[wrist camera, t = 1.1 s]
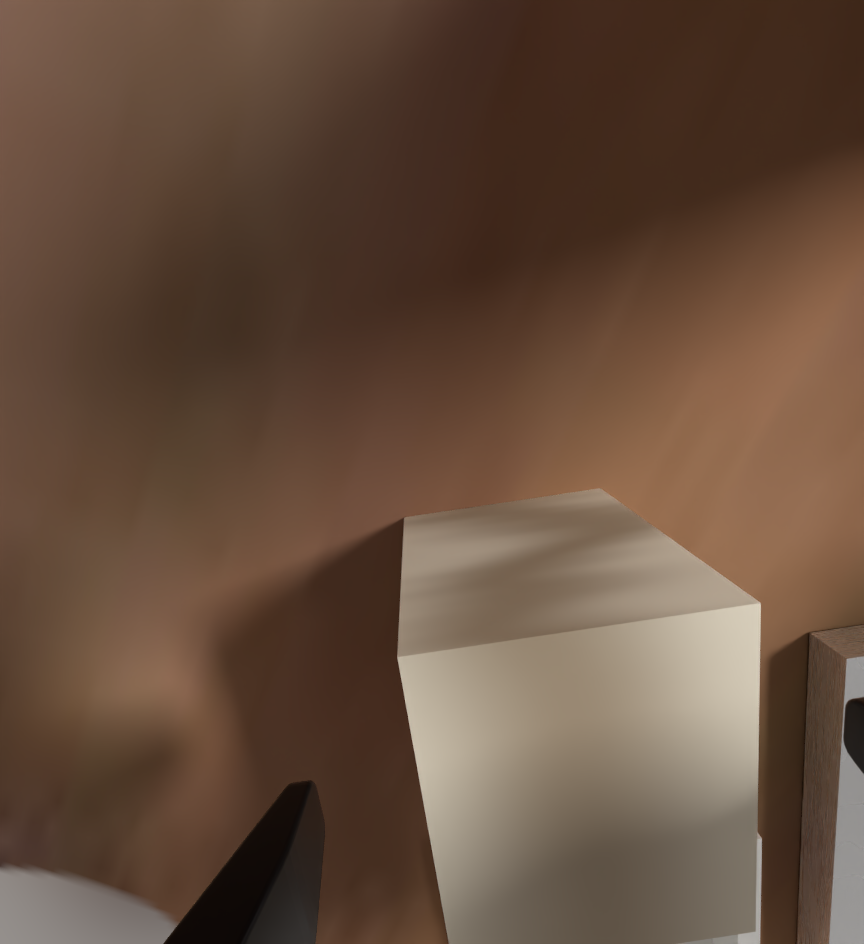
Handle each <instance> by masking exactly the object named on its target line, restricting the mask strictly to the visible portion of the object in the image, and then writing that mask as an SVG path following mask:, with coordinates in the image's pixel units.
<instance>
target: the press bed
mask: <svg viewBox="0 0 864 944" xmlns="http://www.w3.org/2000/svg"><path fill="white" fill-rule="evenodd" d="M860 697H864V625H859V626H852V627H846V628H839V629H832V630H826V631H819V632H812V633H810V638H809V662H808V686H807V710H806V734H805V758H804V782H803V806H802V830H801V854H800V878H799V902H798V926H797V944H864V774H863V773H862V772H861V770H860V769H859V768H858V766H857V765H856V764H855V762H854V761H853V760H852V759H851V757H850V756H849V754H848V752H847V750H846V748H845V745H844V741H843V733H844V717H845V705H846V703H847V702H848V700H850V699H853V698H860Z"/></svg>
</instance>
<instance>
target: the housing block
mask: <svg viewBox="0 0 864 944" xmlns="http://www.w3.org/2000/svg"><path fill="white" fill-rule="evenodd" d="M760 621H761V603H760V602H759V601H757V600H756V599H755V598H753V597H752V596H750V595H749V594H748V593H746V592H745V591H743V590H742V589H741V588H739V587H738V586H736V585H735V584H734V583H732V582H731V581H729V580H728V579H727V578H725V577H724V576H722V575H721V574H720V573H718V572H717V571H715V570H714V569H713V568H711V567H710V566H708V565H707V564H706V563H704V562H703V561H701V560H700V559H699V558H697V557H696V556H694V555H693V554H692V553H690V552H689V551H687V550H686V549H685V548H683V547H682V546H680V545H679V544H678V543H676V542H675V541H673V540H672V539H671V538H669V537H668V536H666V535H665V534H664V533H662V532H661V531H659V530H658V529H657V528H655V527H654V526H652V525H651V524H650V523H648V522H647V521H645V520H644V519H643V518H641V517H640V516H638V515H637V514H636V513H634V512H633V511H631V510H630V509H629V508H627V507H626V506H625V505H623V504H622V503H620V502H619V501H618V500H616V499H615V498H613V497H612V496H611V495H609V494H608V493H606V492H605V491H604V490H602V489H601V488H599V489H593V490H586V491H579V492H572V493H566V494H559V495H552V496H545V497H539V498H532V499H525V500H518V501H512V502H505V503H498V504H491V505H485V506H478V507H471V508H465V509H458V510H451V511H444V512H438V513H431V514H424V515H417V516H411V517H404V531H403V551H402V572H401V592H400V613H399V633H398V654H397V658H398V664H399V669H400V675H401V681H402V686H403V692H404V697H405V703H406V708H407V714H408V719H409V725H410V731H411V736H412V742H413V747H414V753H415V758H416V764H417V770H418V775H419V781H420V786H421V792H422V797H423V803H424V808H425V814H426V820H427V825H428V831H429V836H430V842H431V847H432V853H433V858H434V864H435V870H436V875H437V881H438V886H439V892H440V897H441V903H442V908H443V914H444V920H445V925H446V931H447V936H448V942H449V944H678V943H685V942H691V941H698V940H704V939H711V938H718V937H724V936H731V935H737V934H744V933H750V932H756V887H757V821H758V754H759V688H760Z"/></svg>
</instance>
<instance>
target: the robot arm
mask: <svg viewBox="0 0 864 944" xmlns="http://www.w3.org/2000/svg"><path fill="white" fill-rule="evenodd" d="M843 741H844V745H845V748H846V750H847V752H848V754H849V756H850V757H851V759H852V760H853V761H854V762H855V764H856V765H857V766H858V768H859V769H860V770H861V772H862V773H863V774H864V697H860V698H853V699H850V700H848V702H847V703H846V705H845V717H844V733H843ZM324 838H325V823H324V817H323V813H322V808H321V804H320V800H319V796H318V792H317V788H316V785H315V783H314V782H313V781H311V780H308V781H302V782H295V783H291V784H289V785H288V786H287V787H286V788H285V789H284V790H283V792H282V793H281V794H280V795H279V797H278V798H277V799H276V801H275V802H274V803H273V804H272V806H271V807H270V808H269V809H268V811H267V812H266V813H265V815H264V816H263V817H262V818H261V820H260V821H259V822H258V823H257V825H256V826H255V827H254V829H253V830H252V831H251V832H250V834H249V835H248V836H247V838H246V839H245V840H244V841H243V843H242V844H241V845H240V846H239V848H238V849H237V850H236V852H235V853H234V854H233V855H232V857H231V858H230V859H229V861H228V862H227V863H226V864H225V866H224V867H223V868H222V869H221V871H220V872H219V873H218V875H217V876H216V877H215V878H214V880H213V881H212V882H211V884H210V885H209V886H208V887H207V889H206V890H205V891H204V892H203V894H202V895H201V896H200V898H199V899H198V900H197V901H196V903H195V904H194V905H193V907H192V908H191V909H190V910H189V912H188V913H187V914H186V915H185V917H184V918H183V919H182V921H181V922H180V923H179V924H178V926H177V927H176V928H175V929H174V931H173V932H172V933H171V935H170V936H169V937H168V938H167V940H166V941H165V942H164V944H315V942H316V932H317V921H318V910H319V898H320V886H321V874H322V862H323V850H324Z"/></svg>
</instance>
